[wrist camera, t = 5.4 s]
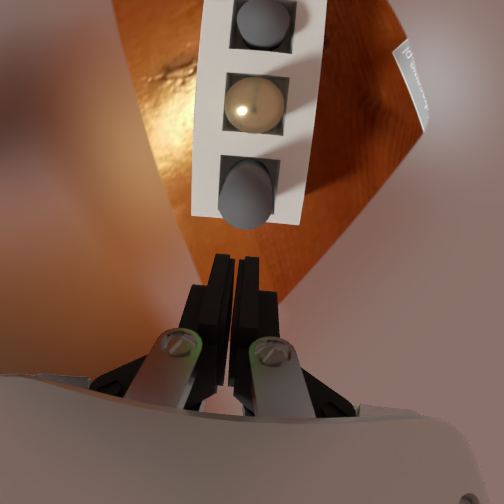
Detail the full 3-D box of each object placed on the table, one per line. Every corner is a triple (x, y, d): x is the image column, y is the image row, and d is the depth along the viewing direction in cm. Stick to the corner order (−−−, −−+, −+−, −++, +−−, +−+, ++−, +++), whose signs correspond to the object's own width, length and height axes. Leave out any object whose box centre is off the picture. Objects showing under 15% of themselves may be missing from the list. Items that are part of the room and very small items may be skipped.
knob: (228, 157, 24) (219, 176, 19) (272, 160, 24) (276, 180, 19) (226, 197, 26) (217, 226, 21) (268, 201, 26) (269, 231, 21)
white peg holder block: (216, 8, 21) (205, -12, 16) (314, 16, 21) (327, -1, 16) (203, 192, 30) (191, 215, 25) (292, 200, 30) (299, 225, 25)
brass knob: (234, 80, 21) (226, 75, 16) (280, 83, 21) (287, 80, 16) (231, 122, 23) (222, 131, 17) (276, 126, 23) (281, 136, 17)
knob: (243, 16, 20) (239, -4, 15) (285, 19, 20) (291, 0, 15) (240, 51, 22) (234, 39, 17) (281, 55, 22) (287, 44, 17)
